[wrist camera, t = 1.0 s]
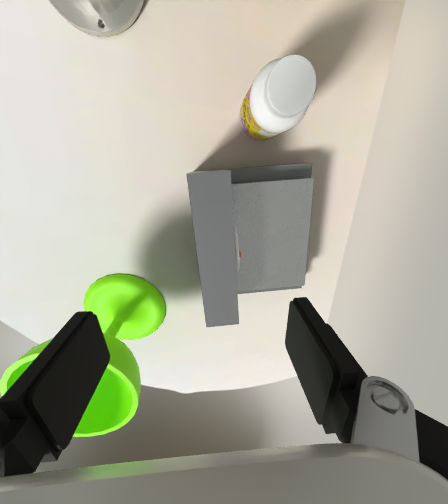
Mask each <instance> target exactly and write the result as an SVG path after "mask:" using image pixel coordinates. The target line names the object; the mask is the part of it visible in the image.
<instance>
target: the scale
mask: <svg viewBox="0 0 448 504" xmlns="http://www.w3.org/2000/svg"><path fill="white" fill-rule="evenodd" d="M311 170H312V163H298V164H285V165H272V166H259V167H246V168H233V169H220V170H207V171H194V172H191V173H187V182H188V189H189V197H190V205H191V212H192V220H193V228H194V236H195V243H196V251H197V259H198V266H199V274H200V282H201V289H202V297H203V305H204V312H205V320H206V327H214V326H224V325H234V324H239V315H238V296H237V294H243V293H254V292H265V291H275V290H286V289H297V288H301V287H302V286H292V287H282V288H271V289H260V290H250V291H239V292H237V277H236V271H239V268H240V257H241V252H240V249H239V244H238V235H237V229H236V226H235V224H234V221H233V202H232V184H234V183H247V182H260V181H272V180H285V179H298V178H311Z"/></svg>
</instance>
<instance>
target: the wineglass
mask: <svg viewBox="0 0 448 504" xmlns="http://www.w3.org/2000/svg"><path fill="white" fill-rule="evenodd" d="M84 308H85V311H92V312H93V314H96V315H97V318H98V321H99V324H100V327H101V329H102V332H103V335H104V338H105V341H106V344H107V347H108V350H109V353H110V361H109V364H108V366H107V368H106V370H105V372H104V374H103V376H102V378H101V380H100V382H99V384H98V386H97V388H96V390H95V392H94V394H93V396H92V398H91V400H90V402H89V404H88V406H87V408H86V410H85V412H84V414H83V416H82V418H81V420H80V422H79V424H78V427H77V429H76V431H75V433H74V435H73V437H89V436H96V435H102V434H106V433H109V432H111V431H114V430H117V429H119V428H120V427H122V426H123V425H125V424H126V423H128V422H129V420H130V419H131V418H132V417H133V416H134V415H135V412H136V409H137V406H138V402H139V397H140V391H141V384H140V373H139V366H138V364H137V362H136V359H135V357H134V356H133V354H132V352H131V351H130V349H129V348H128V347H127V346H126V345H125V344H124V343H123V342H121V341H120V340H119V339H127V340H133V339H139V338H143V337H145V336H148V335H150V334H151V333H153V332H154V331H156V330H157V329H158V328H159V326H160V325H161V324H162V322H163V320H164V317H165V308H166V306H165V303H164V300H163V297H162V296H161V294H160V293H159V291H158V290H157V289H156V288H155V287H154V286H152V285H151V284H150V283H149V282H147V281H145V280H143V279H141V278H139V277H136V276H132V275H128V274H113V275H107V276H105V277H102V278H100V279H98V280H97V281H95V282H94V283H93V284H92V285H91V286H90V287H89V289H88V290H87V292H86V294H85V299H84ZM117 338H118V339H117ZM52 339H53V338H52ZM52 339H50V340H48V341H46V342H44V343H42V344H39V345H38V346H35V347H33V348H32V349H31V350H30V351H28V352H27V353H26V354H25V355H24V356H22V357H21V358H20V359H19V360H17V361H16V362H15V363H14V364H13V365H11V366H10V367H9V368H8V369H6V371H5V373H4V375H3V376H2V378H1V381H0V393H1V396H3V395H4V394H5V393H6V392H7V390H8V389H9V388H10V387H11V386H12V385H13V384H14V383H15V381H16V380H17V379H18V378H19V377H20V376H21V375H22V373H23V372H24V371H25V370H26V369H27V368H28V367H29V365H30V364H31V363H32V362H33V361H34V360H35V359H36V357H37V356H38V355H39V354H40V353H41V352H42V351H43V349H44V348H45V347H46V346H47V345H48V344H49V343H50V341H51V340H52Z"/></svg>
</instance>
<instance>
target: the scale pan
mask: <svg viewBox="0 0 448 504" xmlns="http://www.w3.org/2000/svg"><path fill="white" fill-rule="evenodd" d="M313 187H314V178H298V179H285V180H272V181H260V182H247V183H234V184H232V202H233V221H234V224H235V226H236V229H237V235H238V244H239V249H240V252H241V257H240V268H239V271H236V277H237V292H239V291H250V290H260V289H271V288H282V287H292V286H303V285H305V274H306V263H307V252H308V241H309V230H310V219H311V208H312V197H313Z"/></svg>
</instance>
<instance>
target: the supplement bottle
mask: <svg viewBox="0 0 448 504" xmlns="http://www.w3.org/2000/svg"><path fill="white" fill-rule="evenodd" d="M315 90H316V73H315V70H314V68H313V66H312V64H311V63H310V61H309V60H308V59H306V58H305V57H303V56H301V55H288V56H286V57H284V58H280V59H276V60H273V61H271V62H270V63H268V64H267V65H265V66H264V67H263V68H262V69H261V70H260V72H259V73H258V74H257V76H256V78H255V80H254V81H253V84H252V85H251V87H250V89H249V91H248V93H247V95H246V97H245V99H244V101H243V103H242V106H241V111H240V119H241V124H242V127H243V129H244V130H245V132H246V133H247V134H248V135H249V136H250V137H252V138H254V139H258V140H265V139H269V138H271V137H273V136H276V135H278V134H280V133H282V132H285V131H287V130H289V129H291V128H292V127H294V126H295V125H296V124H297V123H298V122H299V121H300V120H301V119H302V118H303V116H304V115H305V113H306V111H307V109H308V106H309V104H310V102H311V100H312V98H313V96H314V93H315Z"/></svg>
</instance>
